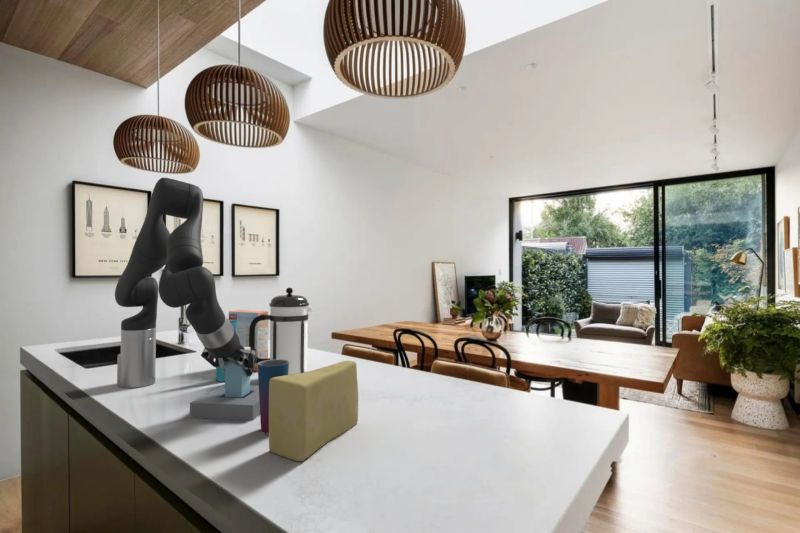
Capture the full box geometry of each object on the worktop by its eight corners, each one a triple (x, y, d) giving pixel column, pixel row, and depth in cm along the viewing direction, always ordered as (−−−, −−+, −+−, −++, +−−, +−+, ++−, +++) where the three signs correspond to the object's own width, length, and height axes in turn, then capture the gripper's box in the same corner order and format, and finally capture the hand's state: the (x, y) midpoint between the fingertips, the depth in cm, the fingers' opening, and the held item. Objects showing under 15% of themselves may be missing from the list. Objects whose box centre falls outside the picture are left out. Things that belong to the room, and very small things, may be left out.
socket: (189, 417, 101) (189, 400, 101) (224, 397, 117) (224, 382, 117) (252, 419, 99) (253, 403, 99) (279, 399, 115) (279, 384, 115)
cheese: (340, 418, 101) (340, 356, 101) (372, 427, 95) (372, 361, 95) (265, 451, 82) (266, 375, 82) (300, 464, 77) (301, 383, 77)
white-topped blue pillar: (224, 396, 106) (225, 349, 106) (233, 391, 110) (234, 346, 110) (241, 397, 105) (242, 350, 105) (249, 392, 110) (250, 347, 110)
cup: (294, 425, 95) (295, 360, 96) (276, 437, 89) (277, 367, 89) (269, 422, 98) (270, 358, 98) (250, 432, 91) (250, 364, 91)
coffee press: (289, 369, 149) (290, 286, 149) (320, 376, 140) (321, 287, 140) (247, 379, 135) (248, 287, 135) (278, 388, 126) (279, 289, 126)
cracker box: (268, 368, 150) (269, 311, 150) (256, 372, 145) (257, 312, 145) (240, 364, 156) (240, 309, 156) (227, 368, 150) (227, 310, 151)
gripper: (251, 322, 100) (271, 361, 112) (195, 321, 101) (221, 360, 113) (240, 348, 94) (262, 386, 106) (181, 346, 96) (210, 385, 108)
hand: (241, 373), depth 110 cm, fingers closed on white-topped blue pillar, 4 cm apart
